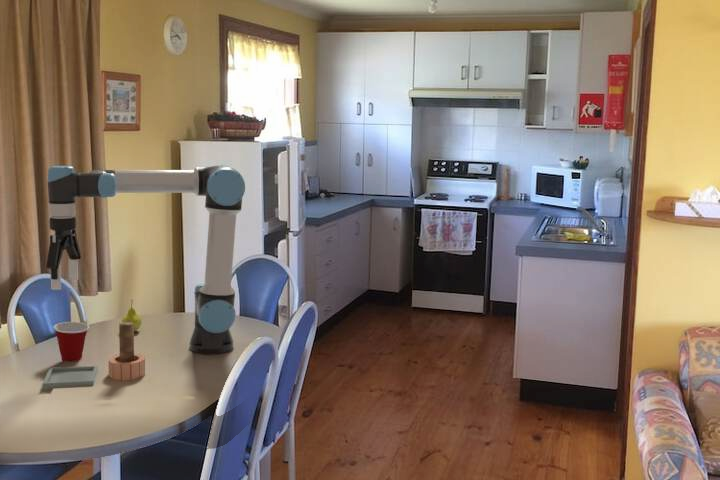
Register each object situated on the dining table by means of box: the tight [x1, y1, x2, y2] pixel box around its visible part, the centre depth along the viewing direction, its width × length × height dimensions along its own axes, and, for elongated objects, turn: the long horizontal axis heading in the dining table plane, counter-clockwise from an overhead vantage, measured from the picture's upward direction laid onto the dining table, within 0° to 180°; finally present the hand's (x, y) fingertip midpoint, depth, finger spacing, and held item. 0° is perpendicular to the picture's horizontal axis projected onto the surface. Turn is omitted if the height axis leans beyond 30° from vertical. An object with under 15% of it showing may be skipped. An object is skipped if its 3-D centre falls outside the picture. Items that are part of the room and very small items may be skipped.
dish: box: [42, 364, 99, 392], centre depth 220 cm, size 14×14×2 cm
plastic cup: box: [53, 321, 90, 364], centre depth 237 cm, size 11×11×12 cm
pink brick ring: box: [107, 352, 146, 381], centre depth 225 cm, size 11×11×6 cm
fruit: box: [121, 299, 142, 332], centre depth 272 cm, size 7×7×12 cm
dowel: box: [118, 322, 135, 362], centre depth 224 cm, size 4×4×16 cm
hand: (65, 284), depth 227 cm, fingers open, 13 cm apart
